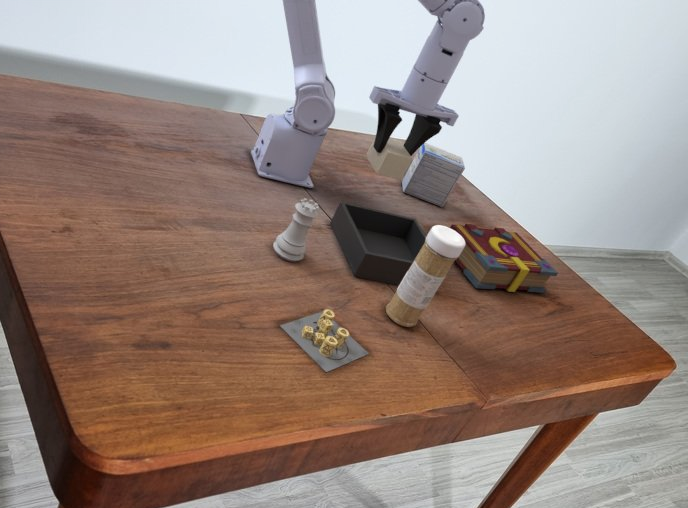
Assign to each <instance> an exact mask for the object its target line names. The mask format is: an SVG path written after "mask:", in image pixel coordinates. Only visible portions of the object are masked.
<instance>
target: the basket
mask: <svg viewBox="0 0 688 508" xmlns="http://www.w3.org/2000/svg"><path fill="white" fill-rule="evenodd" d="M329 224H330V226H331V229H332V231H333V234H334V235H335V237H336V241H337V242H338V245H339V247H340V248H341V251H342V253H343V255H344V258H345V259H346V262H347V264H348V266H349V269H350V271H351V273H352V275H353V277H355V278H358V279H359V278H360V279H365V280H369V281H370V280H371V281H375V282H381V283H386V284H389V285H390V284H391V285H395V286H396V285H397V286H399V285H400V283H401V281H402V280H403V278H404V276H405V274H406V273H407V271H408V270H409V268H410V267H411V265H412V263H413V262H414V260H415V259H416V256H417V255H418V253H419V252H420V250H421V248H422V246H423V245H424V243H425V240H426V237H427V235H426V233H425V232H424V230H423V228H422V226H421V225H420V223H419V221H418V220H417V219H416V218H414V217H409V216H406V215H401V214H397V213H393V212H388V211H385V210H384V211H383V210H381V209H376V208H371V207H367V206H362V205H359V204H354V203H351V202H346V201H341V200H340V201H339V203H338V205H337V208H336V210H335V212H334V214H333V216H332V218H331V220H330V222H329Z"/></svg>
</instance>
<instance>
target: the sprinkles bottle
mask: <svg viewBox="0 0 688 508" xmlns="http://www.w3.org/2000/svg"><path fill="white" fill-rule="evenodd" d="M426 236H427V237H426V240H425V243H424V245H423V246H422V248H421V250H420V252H419V253H418V255H417V256H416V259H415V260H414V262H413V263H412V265H411V267H410V268H409V270H408V271H407V273H406V274H405V276H404V278H403V280H402V281H401V283H400V285H398V286H397V288H396V291H395V293H394V294H393V296H392V298H391V299H390V301H389V303H387V305H386V307H385V312H386V314H387V316H388V317H389V319H390V320H392V322H394V323H395V324H397V325H399V326H401V327H406V328H413V327H415V326H416V325H417V324H418V322H419V319H420V318H421V316H422V314H423V313H424V311H425V309H426V308H427V307H428V306H429V304H430V303H431V301H432V299H433V297H434V296H435V295H436V293H437V292H438V290H439V288H440V287H441V285H442V283H443V281H444V280H445V278H446V277H447V274H448V272H449V271H450V269H451V267H452V265H453V264H454V263H455V260H456V259H457V257H459V255H460V254H461V252H462V250H463V249H464V247H465V240H464V239H463V237H462V236H461V235H460V234H459V233H457V232H456V231H454V230H453V229H451V228H450V227H449V226H446V225H442V224H435V225H433V226H432V227H431V228H430V230H429V231H428V233H427V235H426Z"/></svg>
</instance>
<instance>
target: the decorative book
mask: <svg viewBox="0 0 688 508" xmlns="http://www.w3.org/2000/svg"><path fill="white" fill-rule="evenodd" d="M449 228H451V229H453V230H454V231H456V232H457V233H459V234H460V235H461V236H462V237H463V239H464V240H465V247H464V249H463V250H462V252H461V254H460V255H459V257H457V259H456V260H454V262H455V263H456V264H457V265H458V266H459V267H460V268H461V270H462V272H463V274H464V276H465V277H466V279H468V280H469V282H470V283H471V284H472V285H473V286H474V287H475V288H476V289H482V290H483V289H485V290H495V289H505V290H506V291H507V292H509V293H510V292H513V293H515V292H516V291H517V290H521V291H527V292H529V293H530V292H531V293H539V294H541V293H542V294H544V293H545V292H546V291H547V288H546V287H545V286H544V285H545V284H546V283H547V282H548V280H549V279H550V277H557V276H558V274H559V272H558V271H557V270H556V268H555V267H554V266H553V265H551V264H550V262H548V261H547V259H545V258H543V257H541V255H539V253H537V251H535V250H534V249H533V247H531V246H530V244H529V243H528V242H527V241H525V240H524V238H522V237H521V235H520V234H519V233H518V232H514V231H507V230H506V229H505V228H502V227H494V228H493V229H491V228H483V227H478V226H477V225H476V224H471V223H465V224H464V225H459V224H451V225H450V227H449Z"/></svg>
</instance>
